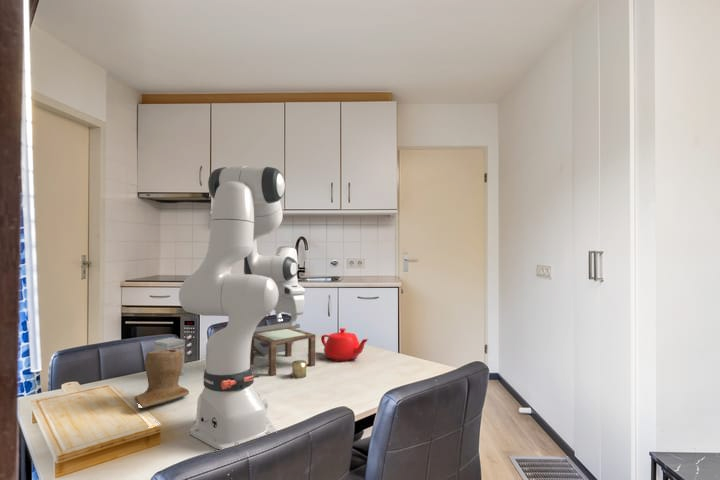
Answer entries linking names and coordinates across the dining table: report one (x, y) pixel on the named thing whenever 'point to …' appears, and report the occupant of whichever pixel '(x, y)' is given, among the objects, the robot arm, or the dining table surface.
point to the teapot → (342, 346)
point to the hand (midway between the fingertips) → (285, 323)
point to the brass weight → (299, 369)
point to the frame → (287, 347)
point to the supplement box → (171, 346)
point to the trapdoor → (280, 334)
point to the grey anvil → (264, 348)
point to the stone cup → (162, 378)
